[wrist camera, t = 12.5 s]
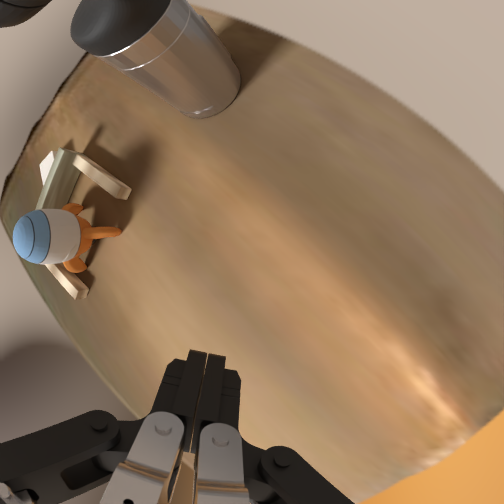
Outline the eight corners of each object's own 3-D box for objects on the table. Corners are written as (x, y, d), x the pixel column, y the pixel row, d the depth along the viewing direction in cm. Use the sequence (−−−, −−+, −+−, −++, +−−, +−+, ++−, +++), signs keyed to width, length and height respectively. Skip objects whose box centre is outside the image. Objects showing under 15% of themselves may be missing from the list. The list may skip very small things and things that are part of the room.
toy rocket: (76, 208, 43) (10, 182, 28) (131, 202, 42) (69, 167, 27) (72, 273, 42) (1, 266, 27) (128, 273, 41) (59, 267, 26)
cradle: (132, 189, 38) (107, 184, 34) (86, 297, 42) (62, 302, 37) (82, 153, 41) (59, 147, 36) (45, 251, 45) (23, 252, 40)
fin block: (52, 167, 44) (39, 164, 41) (65, 153, 43) (52, 150, 40) (57, 190, 43) (44, 189, 40) (70, 177, 42) (57, 175, 39)
